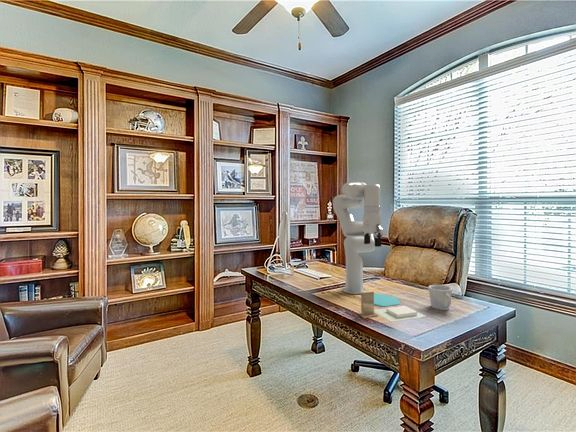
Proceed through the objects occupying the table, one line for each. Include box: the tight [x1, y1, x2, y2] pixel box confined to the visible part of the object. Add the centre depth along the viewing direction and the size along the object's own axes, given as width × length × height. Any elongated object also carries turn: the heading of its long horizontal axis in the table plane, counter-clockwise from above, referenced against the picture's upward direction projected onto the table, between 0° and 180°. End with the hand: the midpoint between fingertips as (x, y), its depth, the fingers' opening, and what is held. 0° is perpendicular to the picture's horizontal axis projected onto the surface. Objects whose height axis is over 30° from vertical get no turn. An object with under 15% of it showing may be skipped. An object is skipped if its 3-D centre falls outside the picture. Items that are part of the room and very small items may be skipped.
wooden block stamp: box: [357, 290, 379, 319], centre depth 146 cm, size 6×7×11 cm
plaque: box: [374, 292, 401, 308], centre depth 166 cm, size 18×2×20 cm
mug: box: [428, 284, 453, 311], centre depth 152 cm, size 10×15×10 cm
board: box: [374, 307, 427, 322], centre depth 147 cm, size 15×18×1 cm
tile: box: [385, 305, 418, 318], centre depth 147 cm, size 2×10×9 cm
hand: (372, 245), depth 157 cm, fingers open, 9 cm apart
